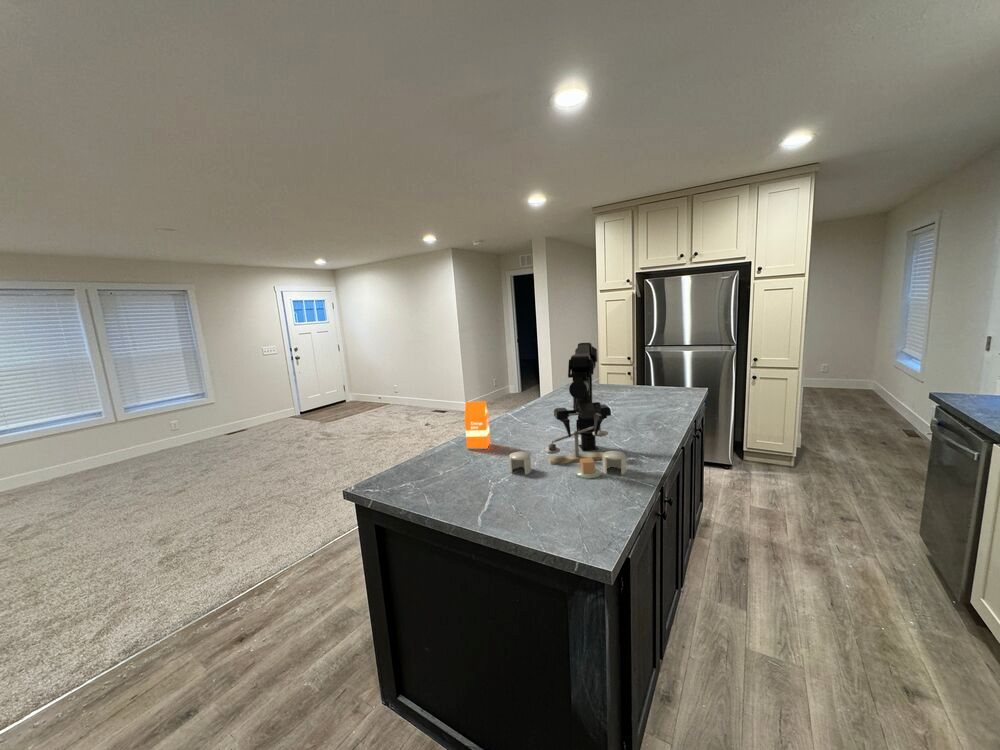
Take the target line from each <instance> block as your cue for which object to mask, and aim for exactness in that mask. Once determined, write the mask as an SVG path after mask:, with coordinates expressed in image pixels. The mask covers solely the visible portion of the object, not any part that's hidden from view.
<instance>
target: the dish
mask: <svg viewBox="0 0 1000 750" xmlns="http://www.w3.org/2000/svg"><path fill="white" fill-rule="evenodd" d="M600 474H602V473H601V470H600V469H599V468H598V467H595V473H592V474H583V473H582V471H581V470H580V467H577V468H576V469H575V470H574V475H575V476H576V477H577V476H578V477H577V478H581V479H584V478H586V480H591V478H593V479H597V478H599V477H600V476H601V475H600ZM598 476H599V477H598ZM596 477H597V478H596Z"/></svg>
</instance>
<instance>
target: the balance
mask: <svg viewBox="0 0 1000 750" xmlns="http://www.w3.org/2000/svg"><path fill="white" fill-rule="evenodd" d="M601 425H602V424H600V431H598V433H597V435H595V433H594V432H593V435H594V436H595V437H600V438H601V437H607V436H608V435H609V432H608V431H606V430H601V429H602V428H601ZM591 429H594V426H592V427H589V428H586V429H584V430H581V431H577V430H574V432H572V433H571V437H574V439H573V441H574V454H566V455H556V454H558V453H559V454H560V452H561V449H560V448H559V447H557V446H556V444H555V443H556V442H560V441H562V440H565V439H568V438H570V437H569V435H568V434H566V435H565V436H561V437H558V438H556V439H553V440H551V443H549V444H548V447H546V448H545V449H544V452H545V453H546V454H550V455H551V454H552V455H554V456H548V457H547V459H548V460H547V461H548V463H549V464H550V465H558V464H570V463H580V459H582V458H592V459H593V460H594V461H599V460H600V459H602V455H603V453H604V452H603V451H599V452H588V453H580V451H579V450H580V447H579V445H580V444H579V434H580V433H582V432H585V431H588V430H591ZM555 455H556V456H555Z"/></svg>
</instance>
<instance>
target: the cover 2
mask: <svg viewBox="0 0 1000 750" xmlns="http://www.w3.org/2000/svg"><path fill="white" fill-rule="evenodd" d="M610 467H614V468H615V467H618V468H617V469H620V468H621V469H620V473H621V474H623V475H625V474H626V473H627V456H626V454H625V453H624V452H623V451H619V450H609V451H608V450H607V451H605V452H603V455H602V471H603V473H604V474H605V473H607V474H608V469H611V468H610ZM625 472H626V473H625ZM621 474H620V475H621Z"/></svg>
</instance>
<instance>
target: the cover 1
mask: <svg viewBox="0 0 1000 750" xmlns="http://www.w3.org/2000/svg"><path fill="white" fill-rule="evenodd" d="M508 458H509V471H510V474H511V473H512V474H513V469H514V470H515V469H520V468H519V467H524V468H523V469H524V475H525V474H527V475H528V474H531V472H532V464H531V462H532V461H531V454H530V453H529V452H526V451H515V452H511V453H510V454H509V456H508Z"/></svg>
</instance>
